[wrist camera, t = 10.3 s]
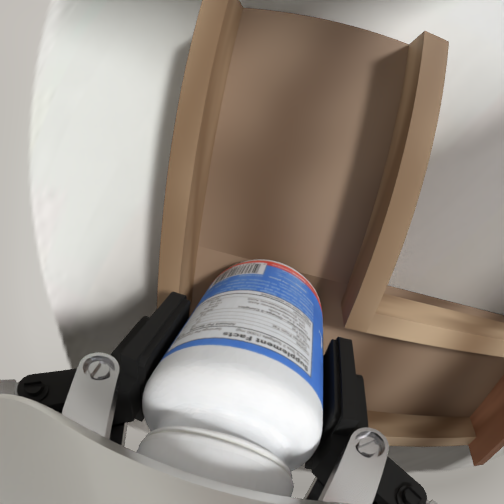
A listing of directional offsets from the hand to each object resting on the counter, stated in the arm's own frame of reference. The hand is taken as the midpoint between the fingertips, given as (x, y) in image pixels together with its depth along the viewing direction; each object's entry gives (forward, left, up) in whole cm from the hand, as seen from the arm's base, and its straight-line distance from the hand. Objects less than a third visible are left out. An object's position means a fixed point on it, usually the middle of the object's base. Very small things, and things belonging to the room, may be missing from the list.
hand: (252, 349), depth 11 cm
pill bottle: (0, 0, -3) cm, 3 cm away
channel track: (-6, -3, -4) cm, 8 cm away
